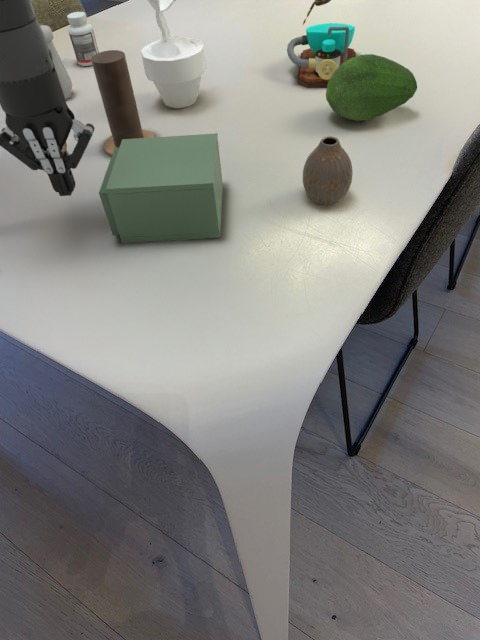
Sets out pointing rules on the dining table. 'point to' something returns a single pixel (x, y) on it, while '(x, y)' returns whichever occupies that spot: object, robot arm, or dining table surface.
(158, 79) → the potted plant
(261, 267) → the dining table surface
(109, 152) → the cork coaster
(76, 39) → the pill bottle
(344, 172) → the vase
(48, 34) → the salt shaker
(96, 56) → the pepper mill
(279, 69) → the dining table surface
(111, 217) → the drawer
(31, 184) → the dining table surface
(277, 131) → the dining table surface
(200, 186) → the cabinet
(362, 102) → the fruit
